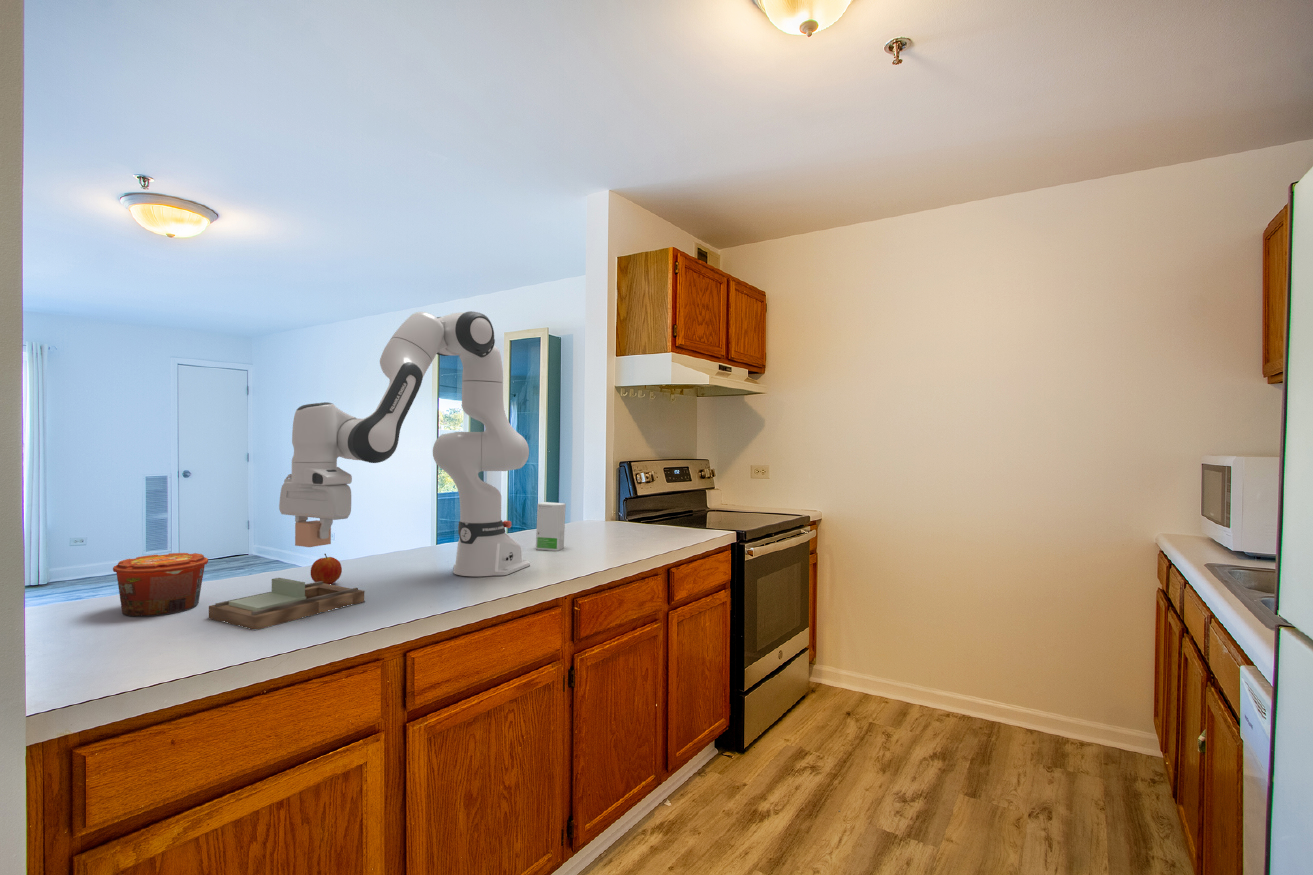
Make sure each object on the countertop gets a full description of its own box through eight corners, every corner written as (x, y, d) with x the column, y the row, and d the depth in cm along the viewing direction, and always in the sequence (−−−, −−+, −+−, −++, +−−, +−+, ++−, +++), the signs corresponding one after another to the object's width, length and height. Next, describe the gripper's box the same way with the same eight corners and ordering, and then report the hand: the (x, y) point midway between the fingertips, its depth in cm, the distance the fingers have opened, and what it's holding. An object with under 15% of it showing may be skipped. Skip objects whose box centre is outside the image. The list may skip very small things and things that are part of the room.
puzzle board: (319, 592, 148) (319, 579, 148) (364, 601, 141) (364, 588, 141) (208, 618, 127) (208, 602, 127) (255, 630, 120) (255, 614, 120)
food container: (178, 596, 144) (179, 549, 144) (224, 604, 138) (224, 555, 138) (94, 613, 129) (95, 562, 129) (141, 623, 123) (142, 569, 123)
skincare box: (535, 550, 208) (535, 503, 208) (542, 546, 215) (542, 501, 215) (559, 551, 207) (559, 504, 207) (565, 547, 214) (566, 502, 214)
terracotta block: (316, 542, 142) (316, 520, 142) (330, 543, 139) (330, 521, 140) (295, 545, 137) (295, 522, 137) (309, 547, 135) (309, 524, 135)
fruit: (339, 580, 161) (340, 549, 161) (343, 586, 155) (343, 554, 156) (309, 583, 157) (309, 552, 157) (311, 589, 152) (312, 556, 152)
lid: (277, 594, 137) (277, 577, 137) (306, 600, 132) (306, 582, 132) (228, 605, 128) (229, 586, 128) (257, 611, 123) (258, 592, 123)
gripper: (271, 474, 140) (270, 535, 140) (330, 477, 131) (329, 543, 131) (298, 472, 146) (297, 531, 146) (357, 476, 137) (356, 539, 137)
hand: (313, 537), depth 138 cm, fingers closed on terracotta block, 5 cm apart
